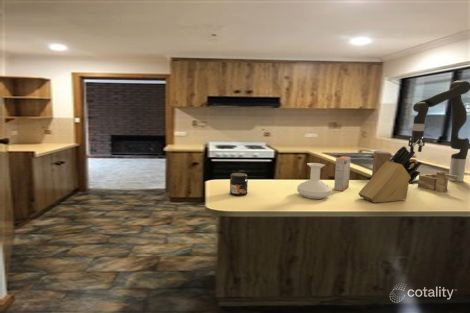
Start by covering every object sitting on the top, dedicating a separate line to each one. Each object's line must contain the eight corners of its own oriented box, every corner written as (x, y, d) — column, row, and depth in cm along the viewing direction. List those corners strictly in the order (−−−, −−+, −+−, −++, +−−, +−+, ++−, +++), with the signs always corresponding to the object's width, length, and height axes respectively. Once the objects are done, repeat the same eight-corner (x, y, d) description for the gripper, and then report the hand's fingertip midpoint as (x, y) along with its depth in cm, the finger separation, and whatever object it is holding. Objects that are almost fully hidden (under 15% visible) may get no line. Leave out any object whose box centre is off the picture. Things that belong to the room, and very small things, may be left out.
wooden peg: (439, 175, 206) (439, 171, 206) (458, 179, 195) (459, 175, 194) (436, 176, 205) (436, 171, 205) (455, 180, 194) (456, 175, 193)
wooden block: (388, 179, 235) (391, 153, 232) (374, 178, 237) (377, 152, 234) (385, 176, 245) (387, 151, 242) (371, 175, 247) (374, 151, 244)
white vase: (317, 190, 196) (319, 161, 193) (338, 199, 177) (341, 166, 175) (290, 193, 189) (292, 162, 186) (308, 202, 171) (311, 168, 168)
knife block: (419, 199, 182) (425, 147, 177) (371, 204, 171) (376, 148, 166) (403, 194, 192) (409, 145, 188) (357, 198, 181) (361, 146, 176)
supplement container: (231, 197, 177) (231, 176, 176) (228, 192, 188) (228, 172, 186) (249, 196, 179) (249, 176, 178) (245, 191, 190) (245, 172, 188)
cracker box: (339, 186, 210) (342, 155, 207) (348, 187, 207) (351, 156, 204) (333, 190, 199) (335, 158, 196) (342, 191, 195) (345, 159, 192)
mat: (411, 178, 240) (411, 178, 240) (427, 182, 228) (427, 181, 228) (397, 180, 234) (397, 179, 234) (412, 184, 222) (413, 183, 222)
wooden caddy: (431, 184, 221) (433, 167, 219) (454, 190, 206) (456, 172, 204) (417, 186, 215) (419, 168, 213) (440, 192, 201) (443, 173, 199)
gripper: (416, 130, 219) (413, 153, 221) (429, 130, 225) (427, 152, 227) (406, 129, 226) (404, 151, 228) (420, 129, 231) (417, 151, 234)
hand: (415, 152), depth 228 cm, fingers open, 8 cm apart
